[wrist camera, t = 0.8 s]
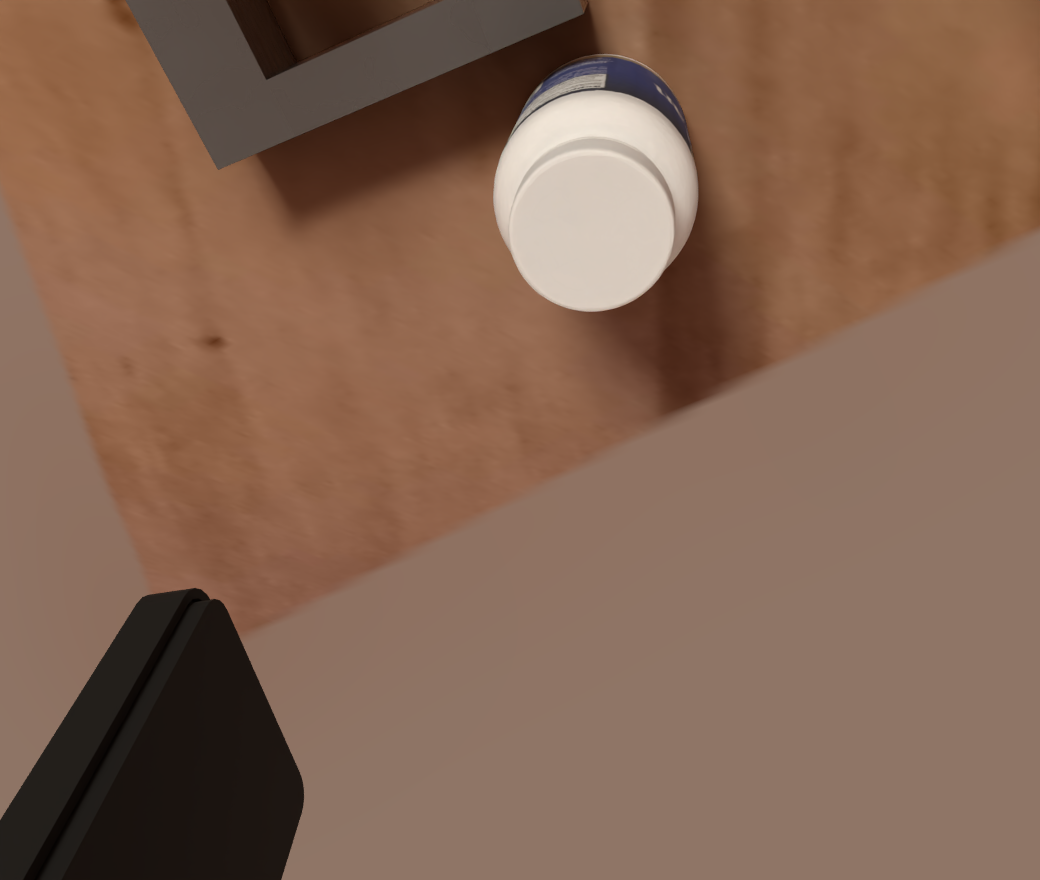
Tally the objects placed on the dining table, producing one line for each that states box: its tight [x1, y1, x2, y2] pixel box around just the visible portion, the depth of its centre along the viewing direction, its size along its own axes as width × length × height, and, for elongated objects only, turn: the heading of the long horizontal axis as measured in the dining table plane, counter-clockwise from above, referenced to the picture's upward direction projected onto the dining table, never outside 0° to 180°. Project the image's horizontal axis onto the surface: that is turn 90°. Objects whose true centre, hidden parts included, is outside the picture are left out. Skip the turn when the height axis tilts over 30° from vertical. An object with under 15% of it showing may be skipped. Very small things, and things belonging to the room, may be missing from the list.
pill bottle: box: [493, 54, 698, 312], centre depth 27 cm, size 5×5×10 cm
